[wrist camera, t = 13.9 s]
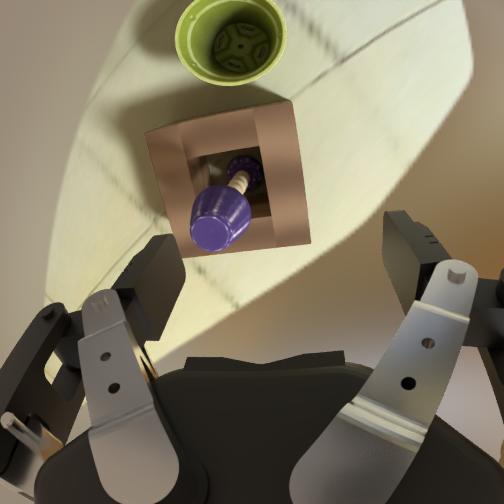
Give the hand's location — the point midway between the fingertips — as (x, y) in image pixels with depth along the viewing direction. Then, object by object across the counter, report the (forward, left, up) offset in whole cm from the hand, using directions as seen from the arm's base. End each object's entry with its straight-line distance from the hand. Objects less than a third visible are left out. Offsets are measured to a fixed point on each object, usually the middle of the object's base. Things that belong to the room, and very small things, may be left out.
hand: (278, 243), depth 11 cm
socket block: (+3, -5, -25) cm, 25 cm away
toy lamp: (+3, -5, -25) cm, 25 cm away
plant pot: (-11, -2, -25) cm, 27 cm away
